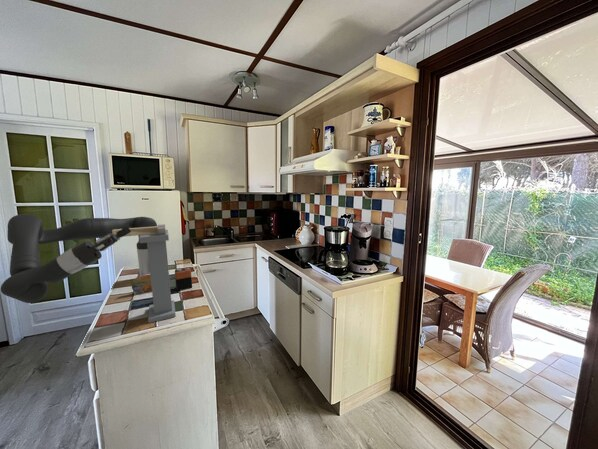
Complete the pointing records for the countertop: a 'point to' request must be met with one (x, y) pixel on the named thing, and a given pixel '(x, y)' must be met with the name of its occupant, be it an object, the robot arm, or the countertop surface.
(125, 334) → the countertop surface
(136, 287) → the tin
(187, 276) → the battery
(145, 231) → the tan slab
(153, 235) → the shelf post
